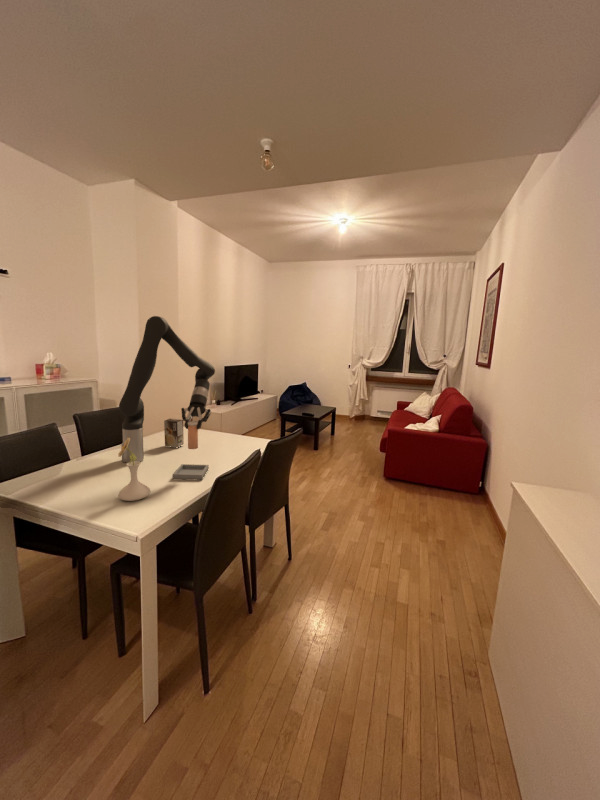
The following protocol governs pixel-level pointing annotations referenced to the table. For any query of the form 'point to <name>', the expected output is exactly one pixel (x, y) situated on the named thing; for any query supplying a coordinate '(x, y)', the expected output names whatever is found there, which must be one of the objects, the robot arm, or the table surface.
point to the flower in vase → (132, 479)
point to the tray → (190, 471)
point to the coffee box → (173, 432)
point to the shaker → (192, 435)
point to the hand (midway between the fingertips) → (192, 428)
